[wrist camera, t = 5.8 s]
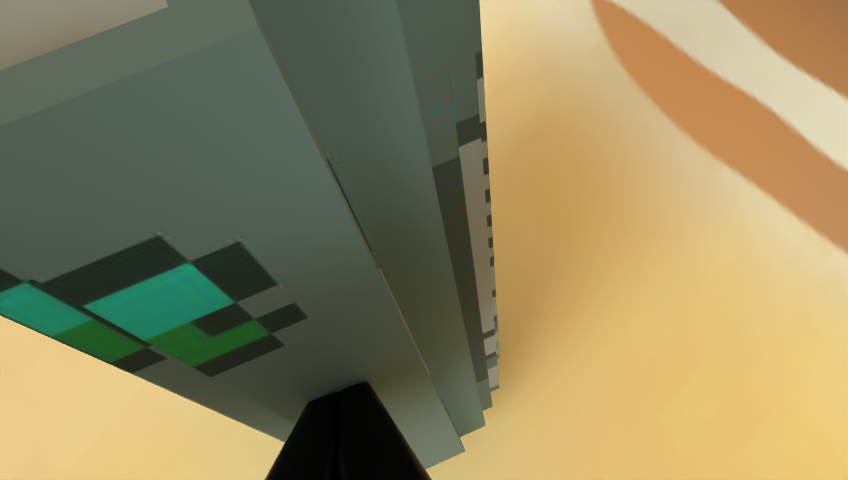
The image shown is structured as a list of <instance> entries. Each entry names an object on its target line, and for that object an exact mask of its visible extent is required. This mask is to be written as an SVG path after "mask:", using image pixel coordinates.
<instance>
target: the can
mask: <svg viewBox="0 0 848 480" xmlns="http://www.w3.org/2000/svg"><path fill="white" fill-rule="evenodd" d="M0 315H1V316H3V317H5V318H7V319H10V320H12V321H14V322H16V323H19V324H21V325H23V326H25V327H28V328H30V329H32V330H34V331H37V332H39V333H41V334H43V335H46V336H48V337H50V338H52V339H55V340H57V341H59V342H61V343H63V344H66V345H68V346H70V347H72V348H75V349H77V350H79V351H81V352H84V353H86V354H88V355H90V356H93V357H95V358H97V359H99V360H102V361H104V362H106V363H108V364H111V365H113V366H115V367H117V368H119V369H122V370H124V371H126V372H128V373H131V374H133V375H135V376H137V377H140V378H142V379H144V380H146V381H149V382H151V383H153V384H155V385H158V386H160V387H162V388H164V389H167V390H169V391H171V392H173V393H175V394H178V395H180V396H182V397H184V398H187V399H189V400H191V401H193V402H196V403H198V404H200V405H202V406H205V407H207V408H209V409H211V410H214V411H216V412H218V413H220V414H223V415H225V416H227V417H229V418H232V419H234V420H236V421H238V422H240V423H243V424H245V425H247V426H249V427H252V428H254V429H256V430H258V431H261V432H263V433H265V434H267V435H270V436H272V437H274V438H276V439H279V440H281V441H283V442H286V440H287V439H288V437H289V435H290V433H291V431H292V430H293V428H294V426H295V424H296V422H297V421H298V419H299V417H300V415H301V413H302V412H303V410H304V408H305V406H306V404H307V403H308V402H309V401H312V400H314V399H317V398H320V397H322V396H325V395H328V394H330V393H333V392H340V391H341V390H342V389H344V388H346V387H349V386H352V385H355V384H358V383H361V382H364V381H366V382H368V383H370V385H371V386H372V388H373V389H374V391H375V392H376V394H377V396H378V397H379V399H380V400H381V402H382V403H383V405H384V406H385V408H386V410H387V411H388V413H389V414H390V416H391V417H392V419H393V420H394V422H395V424H396V425H397V427H398V428H399V430H400V431H401V433H402V434H403V436H404V437H405V439H406V441H407V442H408V444H409V445H410V447H411V448H412V450H413V451H414V453H415V455H416V456H417V458H418V459H419V461H420V462H421V464H422V465H423V467H424V469H427V468H429V467H431V466H434V465H436V464H438V463H440V462H442V461H445V460H447V459H449V458H451V457H453V456H456V455H458V454H460V453H462V452H464V451H465V449H464V447H463V445H462V442H461V440H460V437H461V436H463V435H466V434H468V433H470V432H472V431H474V430H477V429H479V428H481V427H483V426H485V421H484V416H483V412H482V411H483V410H485V409H488V408H490V407H492V401H491V393H490V392H491V391H493V390H495V389H497V388H499V383H498V369H497V358H499V342H498V324H497V307H496V289H495V271H494V254H493V236H492V218H491V201H490V183H489V165H488V148H487V130H486V112H485V95H484V77H483V59H482V42H481V24H480V6H479V0H0Z"/></svg>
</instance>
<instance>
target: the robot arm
mask: <svg viewBox="0 0 848 480" xmlns="http://www.w3.org/2000/svg"><path fill="white" fill-rule="evenodd" d="M265 480H432V479H431V478H430V476H429V475H428V473H427V472H426V470H425V469H424V467H423V465H422V464H421V462H420V461H419V459H418V458H417V456H416V455H415V453H414V451H413V450H412V448H411V447H410V445H409V444H408V442H407V441H406V439H405V437H404V436H403V434H402V433H401V431H400V430H399V428H398V427H397V425H396V424H395V422H394V420H393V419H392V417H391V416H390V414H389V413H388V411H387V410H386V408H385V406H384V405H383V403H382V402H381V400H380V399H379V397H378V396H377V394H376V392H375V391H374V389H373V388H372V386H371V385H370V383H368V382H366V381H364V382H361V383H358V384H355V385H352V386H349V387H346V388H344V389H342V390H341V391H340V392H333V393H330V394H328V395H325V396H322V397H320V398H317V399H314V400H312V401H309V402H308V403H307V404H306V406H305V408H304V410H303V412H302V413H301V415H300V417H299V419H298V421H297V422H296V424H295V426H294V428H293V430H292V431H291V433H290V435H289V437H288V439H287V440H286V442H285V444H284V446H283V448H282V449H281V451H280V453H279V455H278V457H277V459H276V460H275V462H274V464H273V466H272V468H271V469H270V471H269V473H268V475H267V477H266V478H265Z"/></svg>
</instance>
